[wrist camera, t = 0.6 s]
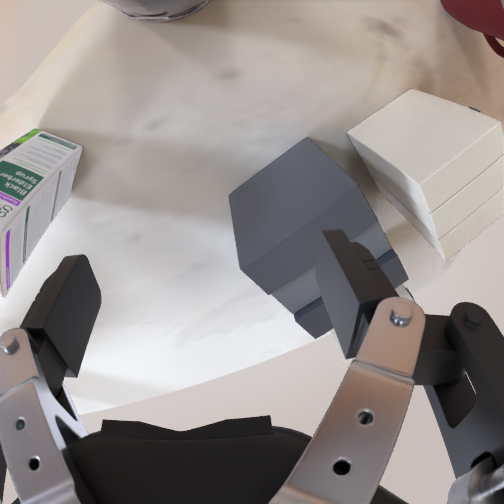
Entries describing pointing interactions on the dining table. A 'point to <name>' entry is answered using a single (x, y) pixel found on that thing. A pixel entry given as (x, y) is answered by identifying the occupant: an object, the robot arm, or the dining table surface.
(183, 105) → the dining table surface
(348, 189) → the grey books
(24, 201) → the syrup box
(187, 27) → the dining table surface
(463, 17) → the mug
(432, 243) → the white books
